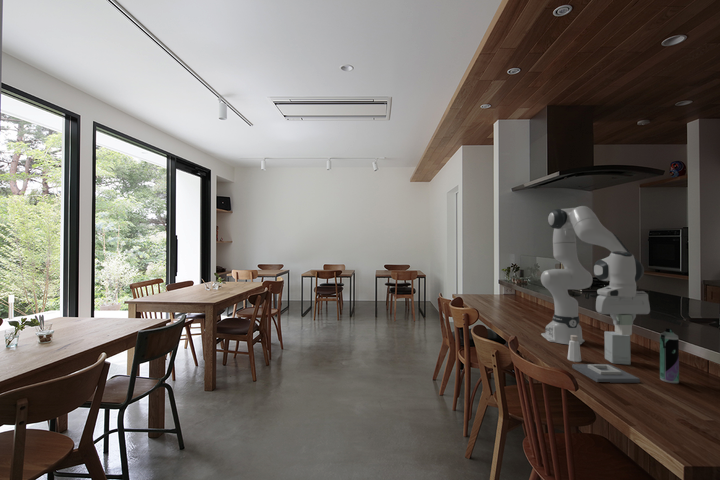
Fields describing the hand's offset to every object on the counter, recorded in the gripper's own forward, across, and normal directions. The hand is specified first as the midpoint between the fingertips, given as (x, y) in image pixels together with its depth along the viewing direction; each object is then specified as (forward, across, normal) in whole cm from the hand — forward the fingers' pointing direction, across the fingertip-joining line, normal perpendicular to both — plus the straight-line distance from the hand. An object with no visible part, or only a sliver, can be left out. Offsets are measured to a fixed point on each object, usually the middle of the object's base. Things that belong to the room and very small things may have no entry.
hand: (623, 324), depth 145 cm
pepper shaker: (+20, +11, -15) cm, 27 cm away
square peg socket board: (+19, +10, +3) cm, 22 cm away
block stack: (+4, 0, 0) cm, 4 cm away
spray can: (+20, -11, +9) cm, 24 cm away
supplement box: (+20, -7, -13) cm, 25 cm away
